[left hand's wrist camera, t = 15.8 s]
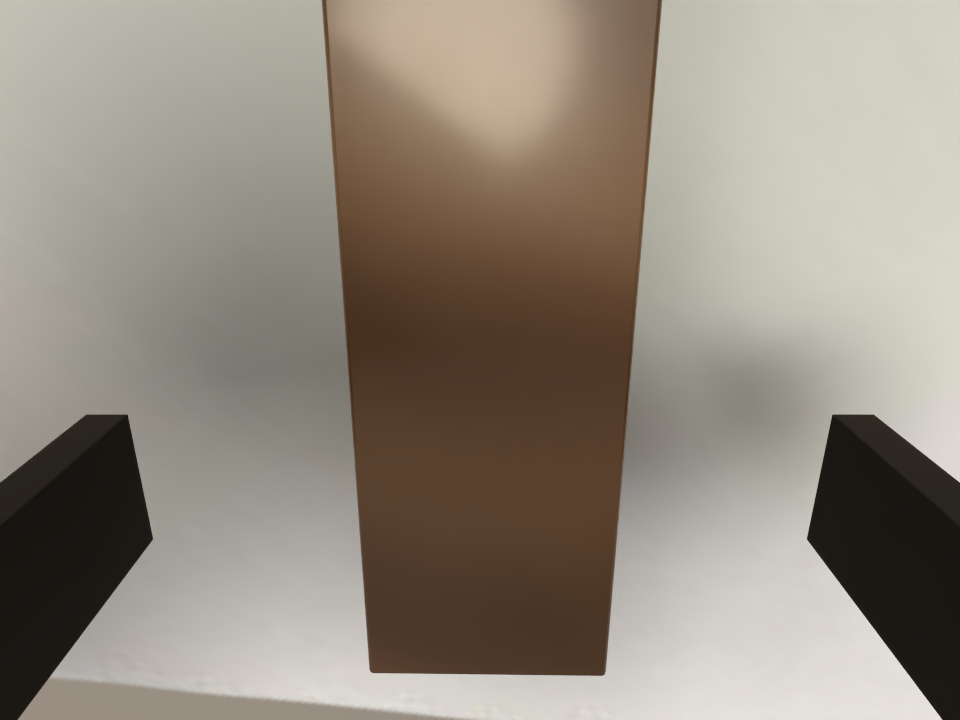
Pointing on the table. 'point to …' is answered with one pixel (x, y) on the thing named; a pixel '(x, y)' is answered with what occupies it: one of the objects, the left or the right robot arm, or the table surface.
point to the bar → (490, 316)
